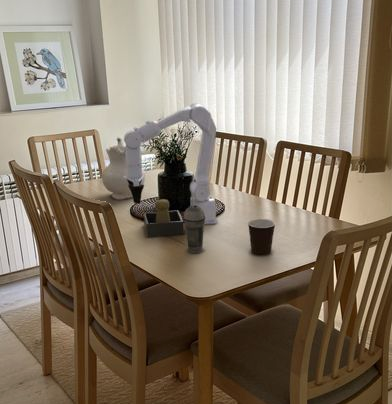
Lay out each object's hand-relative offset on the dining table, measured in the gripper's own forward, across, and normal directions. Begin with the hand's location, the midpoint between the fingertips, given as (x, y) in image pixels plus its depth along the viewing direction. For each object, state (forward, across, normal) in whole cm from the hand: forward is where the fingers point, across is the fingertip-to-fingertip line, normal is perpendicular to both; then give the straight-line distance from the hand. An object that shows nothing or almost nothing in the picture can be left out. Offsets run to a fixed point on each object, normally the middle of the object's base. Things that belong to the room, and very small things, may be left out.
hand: (136, 200), depth 204 cm
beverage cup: (+11, +29, +17) cm, 35 cm away
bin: (+10, +6, +9) cm, 15 cm away
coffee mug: (+11, +34, +39) cm, 53 cm away
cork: (+10, +6, +9) cm, 15 cm away
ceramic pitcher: (+11, -45, -3) cm, 46 cm away
